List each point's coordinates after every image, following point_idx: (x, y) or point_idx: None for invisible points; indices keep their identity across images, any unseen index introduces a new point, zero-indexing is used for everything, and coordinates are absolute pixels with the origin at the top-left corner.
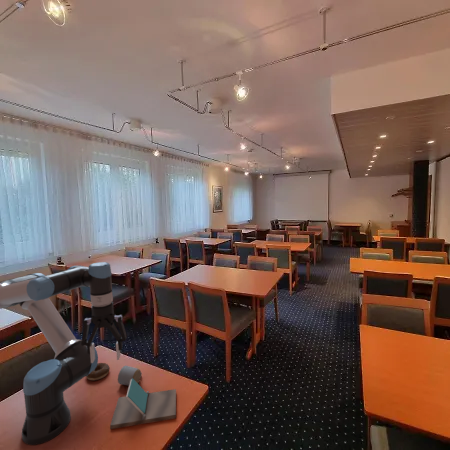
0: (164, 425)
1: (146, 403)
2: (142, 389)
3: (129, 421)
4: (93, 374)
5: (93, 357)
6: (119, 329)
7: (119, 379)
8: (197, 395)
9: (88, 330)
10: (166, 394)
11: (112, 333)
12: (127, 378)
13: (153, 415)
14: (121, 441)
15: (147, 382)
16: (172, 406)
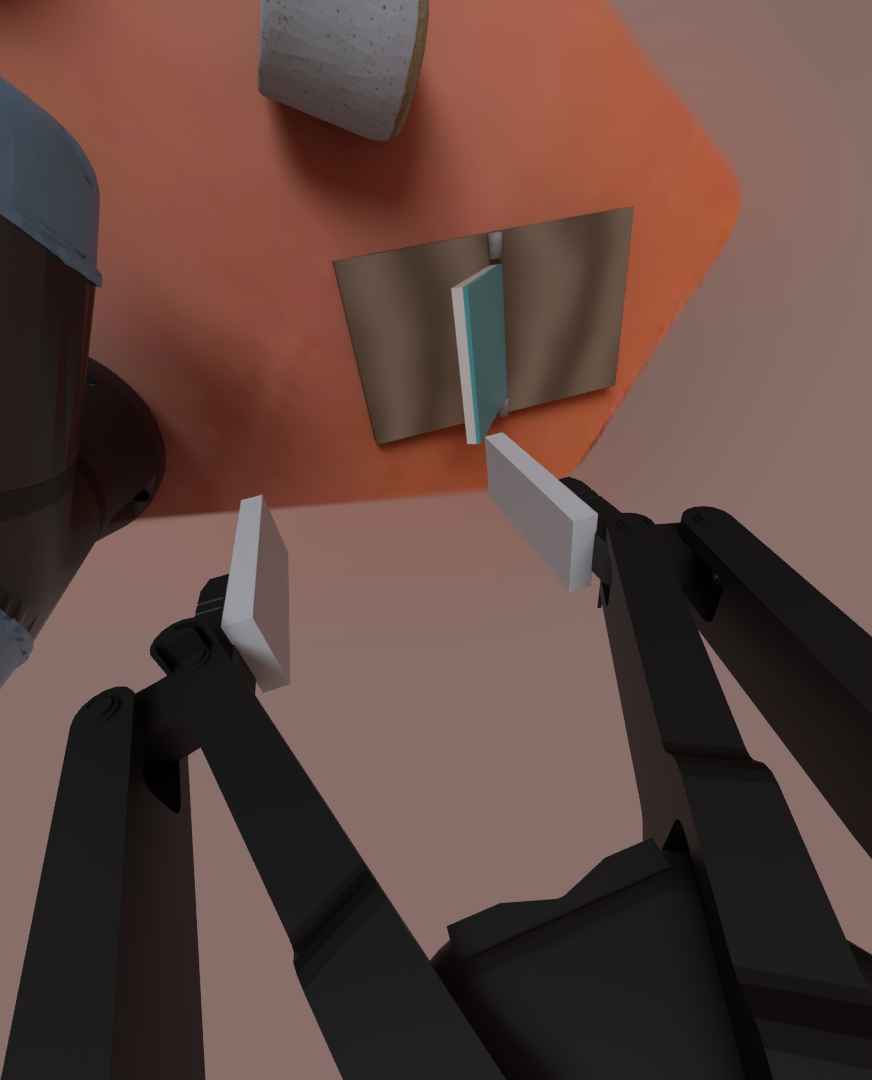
0: (567, 414)
1: None
2: (492, 277)
3: (448, 423)
4: None
5: (279, 557)
6: (777, 733)
7: (277, 97)
8: (707, 244)
9: (120, 918)
10: (586, 251)
11: (628, 723)
12: (352, 117)
13: (535, 390)
14: (436, 481)
15: (456, 64)
16: (607, 340)
